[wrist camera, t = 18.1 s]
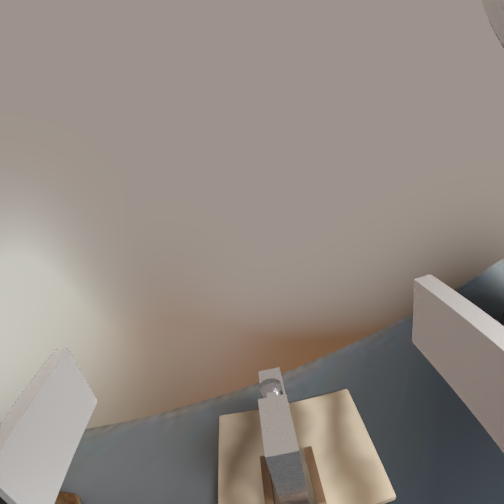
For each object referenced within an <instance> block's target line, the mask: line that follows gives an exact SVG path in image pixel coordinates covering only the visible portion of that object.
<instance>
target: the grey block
mask: <svg viewBox="0 0 504 504" xmlns="http://www.w3.org/2000/svg"><path fill="white" fill-rule="evenodd" d="M259 389H260V393H261V397H262V399H258V405H259V414H260V422H261V430H262V438H263V446H264V454H265V459H266V462H267V465H268V468H269V471H270V474H271V477H272V480H273V483H274V486H275V488H276V491H277V494H278V497H279V500H280V503H281V504H309V498H308V493H307V488H306V482H305V477H304V472H303V466H302V461H301V456H300V451H299V446H298V442H297V438H296V434H295V429H294V425H293V421H292V416H291V412H290V408H289V404H288V399H287V395H286V394H283V391H282V386H281V382H280V381H279V380H278V379H274V378H270V379H266V380H264V381H262V382H261V383H260V385H259Z"/></svg>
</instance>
